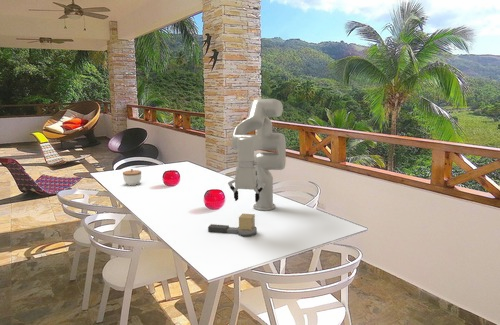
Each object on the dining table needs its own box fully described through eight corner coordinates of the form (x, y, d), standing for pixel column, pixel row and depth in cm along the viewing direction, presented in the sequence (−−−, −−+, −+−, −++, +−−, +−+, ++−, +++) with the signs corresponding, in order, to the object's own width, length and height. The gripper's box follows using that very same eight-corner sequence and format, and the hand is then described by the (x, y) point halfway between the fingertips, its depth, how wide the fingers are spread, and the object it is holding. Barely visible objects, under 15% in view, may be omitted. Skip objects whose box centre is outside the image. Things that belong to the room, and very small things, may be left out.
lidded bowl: (120, 185, 286) (118, 169, 284) (134, 181, 296) (133, 167, 294) (131, 187, 279) (130, 171, 277) (145, 183, 289) (144, 168, 287)
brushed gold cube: (242, 225, 190) (242, 213, 189) (254, 226, 188) (254, 214, 187) (239, 229, 184) (238, 217, 183) (251, 230, 183) (251, 218, 181)
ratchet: (212, 227, 195) (212, 214, 194) (258, 230, 190) (258, 217, 188) (206, 233, 187) (205, 220, 186) (254, 237, 181) (253, 223, 180)
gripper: (266, 163, 182) (266, 199, 185) (230, 162, 186) (231, 197, 190) (262, 166, 175) (263, 204, 178) (225, 165, 179) (226, 202, 183)
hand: (246, 200), depth 184 cm, fingers open, 9 cm apart
